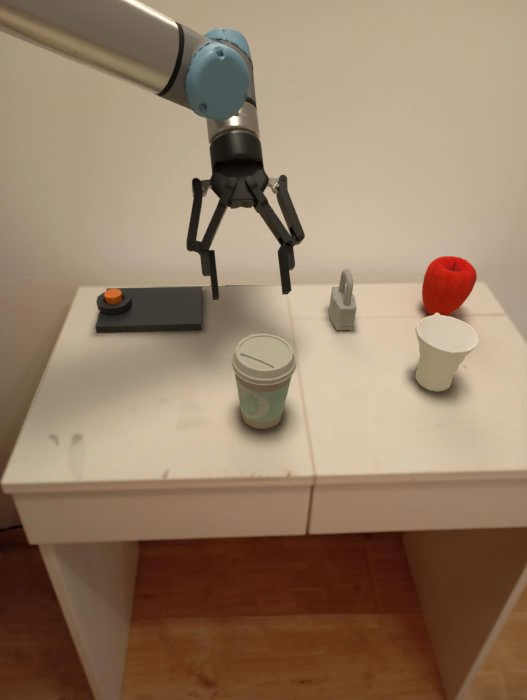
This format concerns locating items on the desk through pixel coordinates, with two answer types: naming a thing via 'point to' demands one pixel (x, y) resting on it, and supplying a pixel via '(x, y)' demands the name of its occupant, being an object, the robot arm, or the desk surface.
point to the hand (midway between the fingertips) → (251, 295)
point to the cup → (442, 349)
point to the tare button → (113, 296)
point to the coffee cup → (263, 378)
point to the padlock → (343, 303)
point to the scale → (151, 310)
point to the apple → (447, 284)
